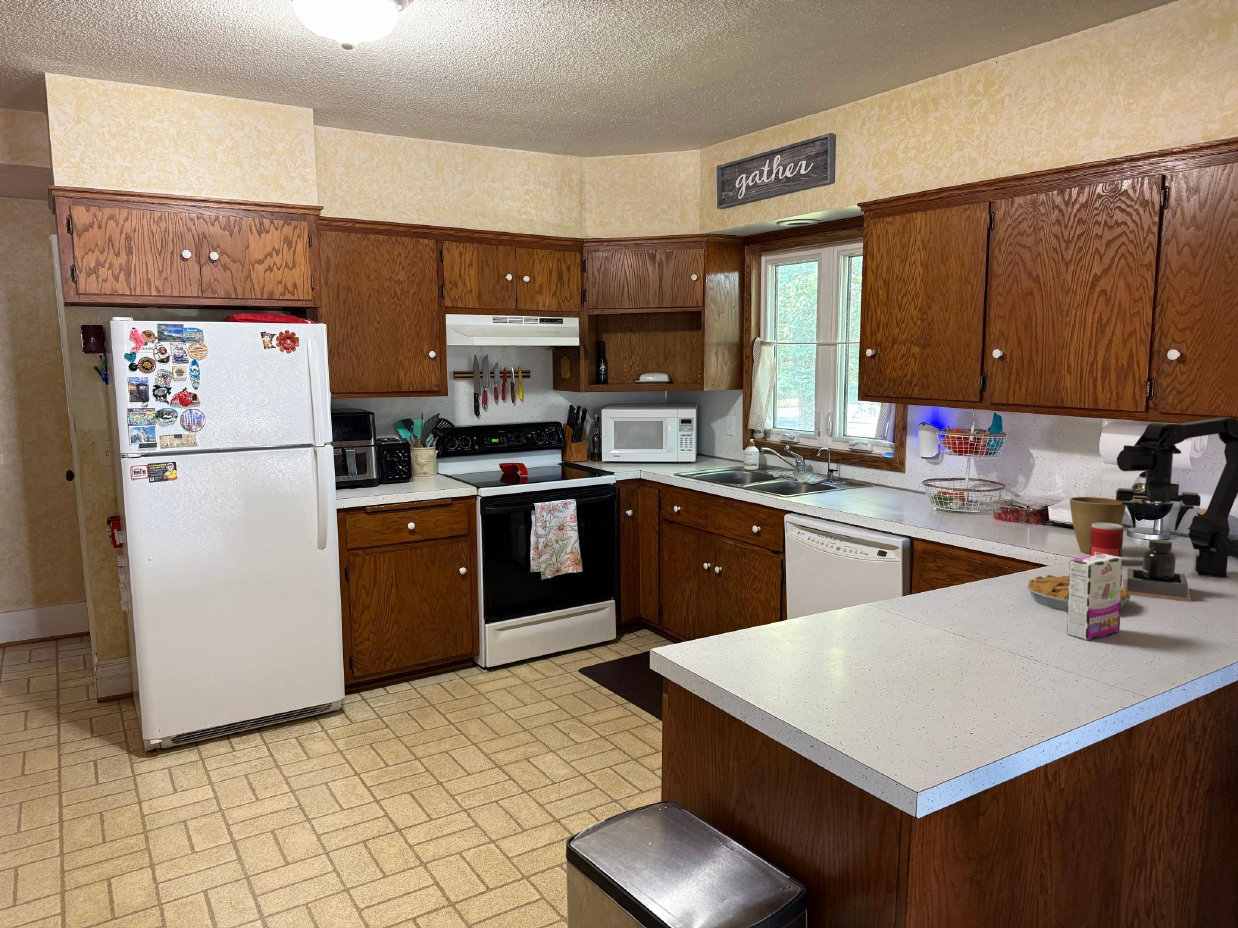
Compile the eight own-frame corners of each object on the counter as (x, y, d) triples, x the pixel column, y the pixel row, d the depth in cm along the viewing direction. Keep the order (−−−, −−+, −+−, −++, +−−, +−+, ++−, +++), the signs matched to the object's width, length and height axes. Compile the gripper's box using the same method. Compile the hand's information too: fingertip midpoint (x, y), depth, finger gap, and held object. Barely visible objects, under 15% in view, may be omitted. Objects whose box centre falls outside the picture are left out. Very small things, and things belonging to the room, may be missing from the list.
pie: (1013, 604, 203) (1014, 584, 202) (1042, 586, 218) (1043, 567, 218) (1116, 622, 188) (1117, 600, 187) (1139, 602, 204) (1141, 582, 203)
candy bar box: (1097, 626, 185) (1102, 552, 183) (1120, 633, 180) (1125, 557, 178) (1064, 634, 179) (1068, 558, 178) (1086, 641, 175) (1091, 563, 173)
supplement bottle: (1135, 586, 214) (1138, 539, 213) (1152, 583, 217) (1155, 537, 216) (1162, 592, 208) (1165, 544, 207) (1179, 589, 211) (1183, 542, 209)
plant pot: (1127, 559, 247) (1130, 505, 245) (1069, 555, 253) (1072, 502, 251) (1118, 548, 261) (1121, 497, 259) (1064, 545, 266) (1067, 495, 265)
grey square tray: (1187, 588, 215) (1188, 573, 215) (1190, 601, 203) (1192, 586, 203) (1123, 581, 222) (1124, 567, 222) (1123, 593, 210) (1124, 578, 210)
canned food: (1125, 566, 239) (1128, 527, 237) (1094, 565, 240) (1096, 527, 239) (1115, 560, 246) (1117, 522, 245) (1085, 559, 248) (1087, 522, 247)
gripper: (1117, 471, 221) (1113, 530, 223) (1204, 476, 212) (1199, 537, 213) (1117, 467, 231) (1114, 523, 232) (1200, 471, 221) (1196, 530, 223)
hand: (1154, 529), depth 225 cm, fingers open, 9 cm apart
